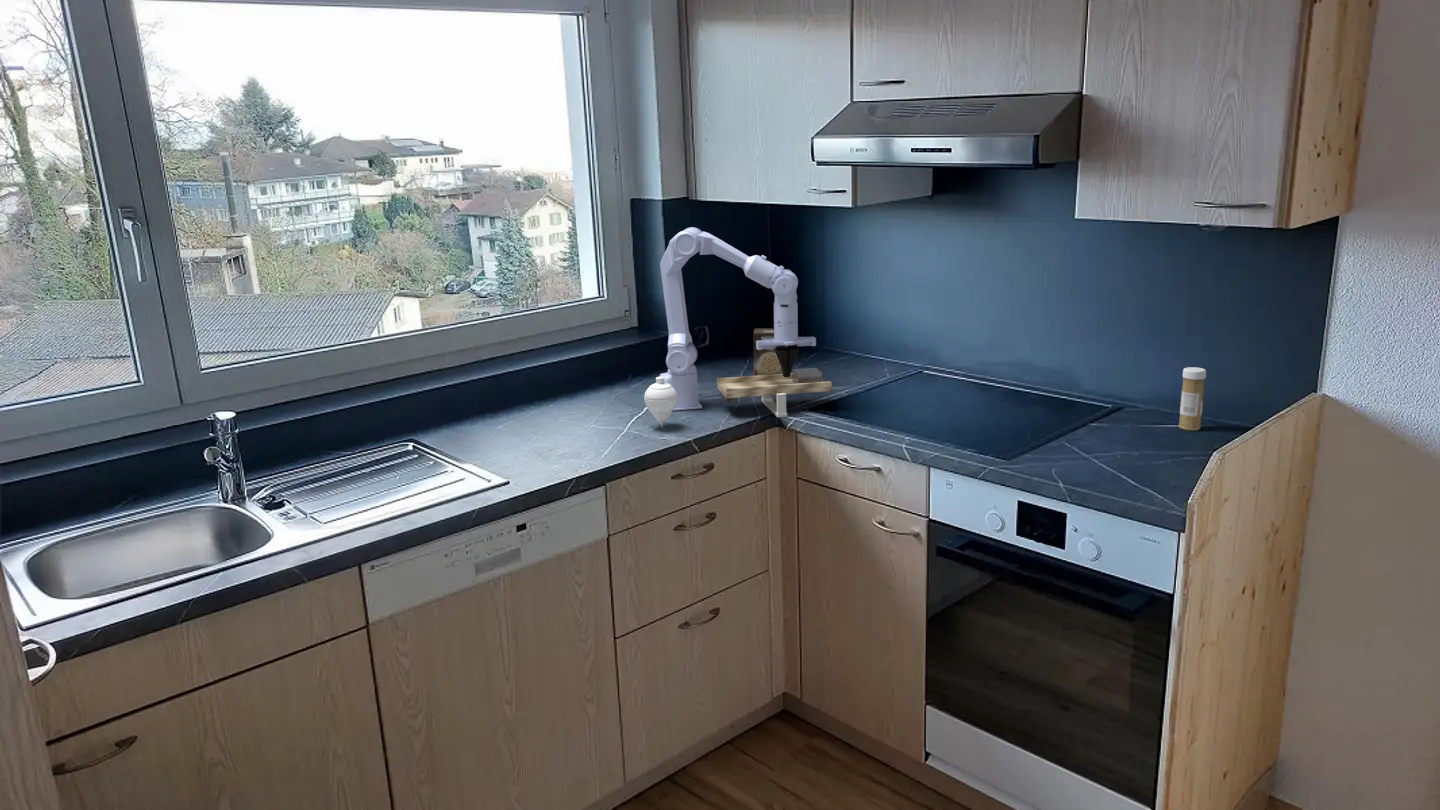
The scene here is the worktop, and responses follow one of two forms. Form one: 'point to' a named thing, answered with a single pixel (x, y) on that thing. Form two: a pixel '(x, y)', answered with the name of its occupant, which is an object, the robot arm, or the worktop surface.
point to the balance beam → (765, 386)
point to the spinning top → (660, 399)
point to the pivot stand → (776, 404)
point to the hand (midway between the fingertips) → (786, 376)
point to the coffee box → (765, 355)
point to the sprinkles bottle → (1192, 398)
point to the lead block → (806, 375)
